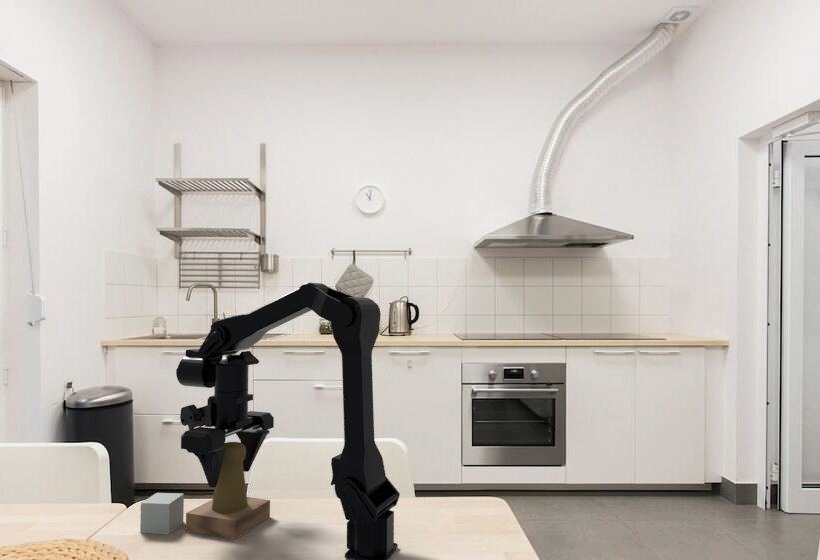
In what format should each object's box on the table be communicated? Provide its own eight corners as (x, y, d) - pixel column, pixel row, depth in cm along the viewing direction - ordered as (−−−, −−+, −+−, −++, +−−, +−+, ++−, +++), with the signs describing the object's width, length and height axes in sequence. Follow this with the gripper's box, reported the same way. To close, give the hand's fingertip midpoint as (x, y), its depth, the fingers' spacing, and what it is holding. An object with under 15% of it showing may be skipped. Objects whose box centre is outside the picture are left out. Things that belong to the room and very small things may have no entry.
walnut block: (269, 516, 99) (270, 500, 99) (235, 539, 90) (235, 520, 90) (223, 509, 103) (224, 493, 103) (185, 530, 93) (186, 512, 93)
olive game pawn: (236, 514, 93) (238, 448, 93) (204, 511, 94) (205, 446, 94) (253, 501, 99) (254, 439, 99) (223, 499, 100) (224, 438, 100)
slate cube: (183, 522, 97) (183, 493, 97) (168, 534, 92) (169, 504, 92) (156, 521, 97) (156, 492, 98) (140, 533, 92) (140, 503, 93)
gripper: (227, 380, 109) (225, 460, 108) (155, 395, 91) (153, 490, 90) (275, 383, 105) (274, 465, 104) (210, 399, 87) (208, 499, 87)
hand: (229, 478), depth 97 cm, fingers open, 9 cm apart
